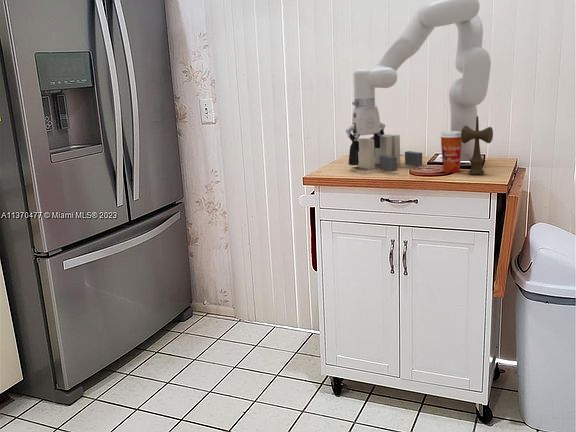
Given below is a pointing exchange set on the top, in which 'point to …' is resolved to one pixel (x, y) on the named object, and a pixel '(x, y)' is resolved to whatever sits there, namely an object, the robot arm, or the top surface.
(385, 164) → the grey book
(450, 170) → the paper cup
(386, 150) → the white book
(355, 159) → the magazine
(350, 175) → the top surface
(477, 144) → the kendama
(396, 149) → the white book
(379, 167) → the shelf board
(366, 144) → the white book
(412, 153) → the grey book
